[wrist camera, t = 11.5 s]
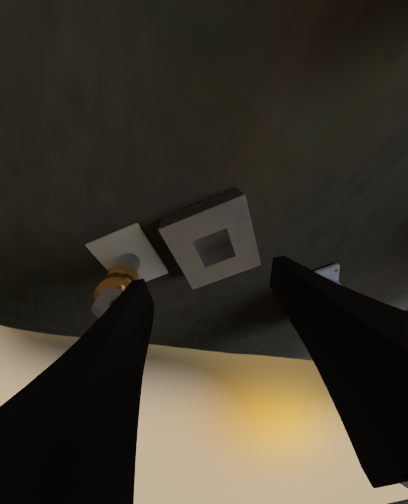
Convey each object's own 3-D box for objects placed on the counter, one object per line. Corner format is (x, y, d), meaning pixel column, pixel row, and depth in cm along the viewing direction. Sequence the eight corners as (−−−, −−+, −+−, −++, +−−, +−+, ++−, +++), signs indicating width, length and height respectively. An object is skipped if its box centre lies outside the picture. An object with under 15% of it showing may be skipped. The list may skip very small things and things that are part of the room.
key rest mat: (168, 271, 21) (168, 273, 21) (125, 287, 21) (124, 289, 21) (137, 222, 17) (136, 223, 17) (86, 243, 18) (84, 245, 17)
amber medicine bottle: (147, 255, 19) (132, 301, 13) (139, 275, 20) (122, 326, 14) (119, 246, 18) (89, 292, 12) (113, 267, 19) (82, 319, 13)
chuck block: (251, 250, 21) (261, 264, 18) (191, 272, 21) (193, 289, 19) (235, 187, 16) (245, 194, 14) (161, 217, 17) (158, 229, 15)
